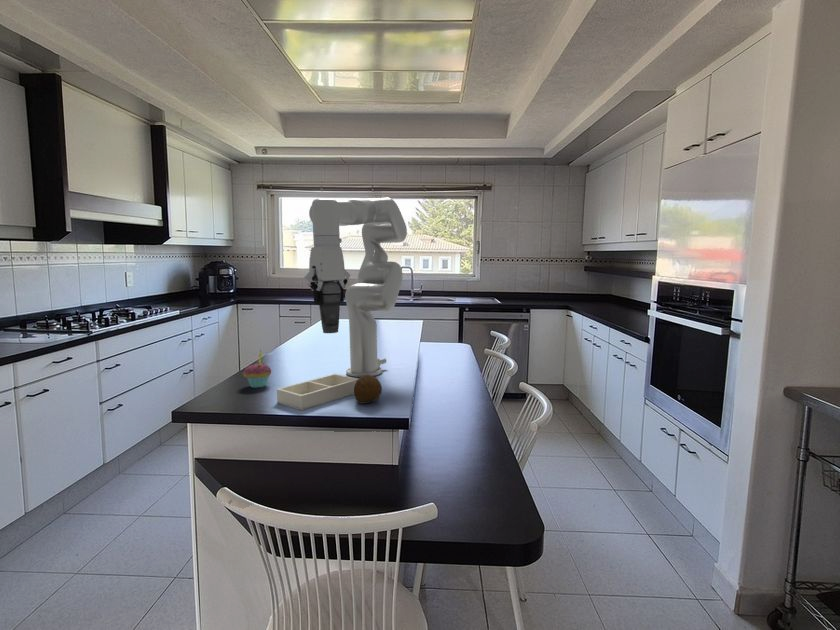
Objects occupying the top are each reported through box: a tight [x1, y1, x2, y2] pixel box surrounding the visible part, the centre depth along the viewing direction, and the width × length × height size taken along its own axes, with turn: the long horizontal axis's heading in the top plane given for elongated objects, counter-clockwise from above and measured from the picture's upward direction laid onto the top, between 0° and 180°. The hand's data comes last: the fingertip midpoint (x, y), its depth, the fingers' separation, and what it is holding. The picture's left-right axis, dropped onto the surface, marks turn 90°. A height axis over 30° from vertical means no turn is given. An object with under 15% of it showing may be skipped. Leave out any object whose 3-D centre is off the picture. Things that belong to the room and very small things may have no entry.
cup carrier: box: [276, 373, 359, 411], centre depth 139 cm, size 22×11×4 cm, turn 141°
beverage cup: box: [318, 281, 342, 334], centre depth 140 cm, size 7×7×20 cm
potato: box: [353, 375, 383, 404], centre depth 134 cm, size 8×12×8 cm, turn 19°
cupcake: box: [242, 349, 272, 389], centre depth 152 cm, size 9×8×12 cm
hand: (329, 302), depth 140 cm, fingers closed on beverage cup, 7 cm apart
